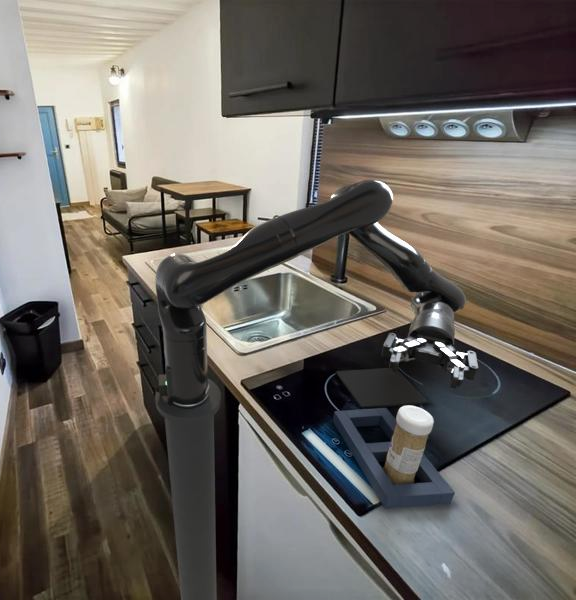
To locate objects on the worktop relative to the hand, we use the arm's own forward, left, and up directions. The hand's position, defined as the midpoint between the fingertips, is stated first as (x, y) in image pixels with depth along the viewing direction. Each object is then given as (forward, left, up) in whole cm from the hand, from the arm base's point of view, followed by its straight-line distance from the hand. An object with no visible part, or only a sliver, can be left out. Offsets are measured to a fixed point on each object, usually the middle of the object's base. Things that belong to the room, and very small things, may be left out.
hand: (423, 375), depth 62 cm
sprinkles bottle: (-7, -9, -14) cm, 18 cm away
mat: (+2, +13, -13) cm, 19 cm away
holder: (-7, -5, -13) cm, 16 cm away
